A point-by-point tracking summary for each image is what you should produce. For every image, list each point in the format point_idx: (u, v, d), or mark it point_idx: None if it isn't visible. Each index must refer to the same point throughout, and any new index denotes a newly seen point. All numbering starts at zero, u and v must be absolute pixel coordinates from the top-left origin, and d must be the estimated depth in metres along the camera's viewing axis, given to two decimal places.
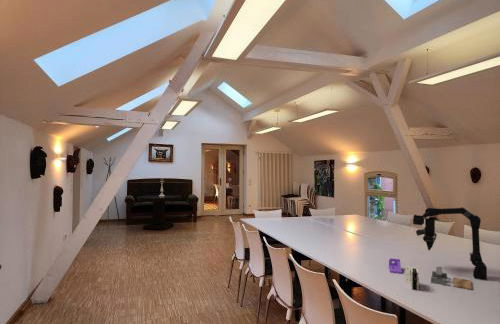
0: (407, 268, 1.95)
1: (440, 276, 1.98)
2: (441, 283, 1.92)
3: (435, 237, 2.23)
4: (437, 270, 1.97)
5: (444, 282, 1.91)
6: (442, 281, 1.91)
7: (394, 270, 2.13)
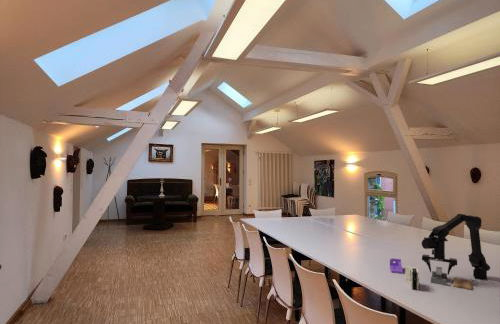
0: (407, 268, 1.95)
1: (440, 276, 1.98)
2: (441, 283, 1.92)
3: None
4: (437, 270, 1.97)
5: (444, 282, 1.91)
6: (442, 281, 1.91)
7: (395, 270, 2.13)
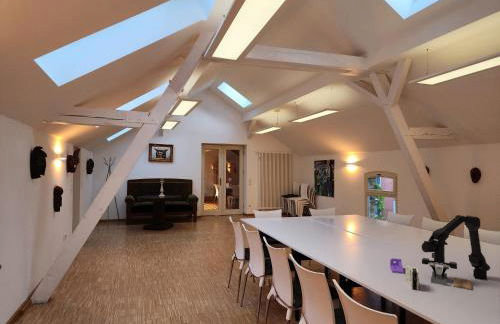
0: (407, 268, 1.95)
1: (440, 276, 1.98)
2: (441, 283, 1.92)
3: (446, 268, 1.95)
4: (437, 270, 1.97)
5: (444, 282, 1.91)
6: (442, 281, 1.91)
7: (396, 270, 2.13)
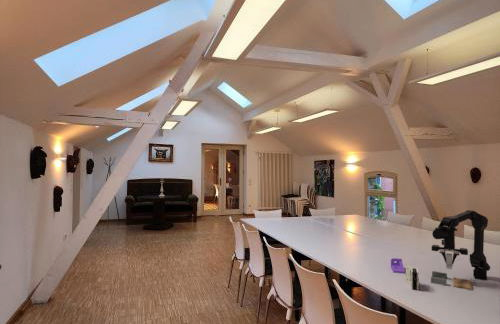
0: (407, 268, 1.95)
1: (450, 262, 1.95)
2: (441, 283, 1.92)
3: (457, 254, 1.92)
4: (447, 256, 1.94)
5: (444, 282, 1.91)
6: (442, 281, 1.91)
7: (397, 270, 2.13)
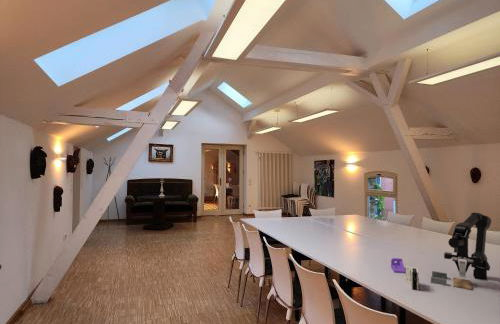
0: (407, 268, 1.95)
1: (464, 271, 1.91)
2: (441, 283, 1.92)
3: (470, 262, 1.89)
4: (461, 265, 1.91)
5: (444, 282, 1.91)
6: (442, 281, 1.91)
7: (398, 270, 2.13)
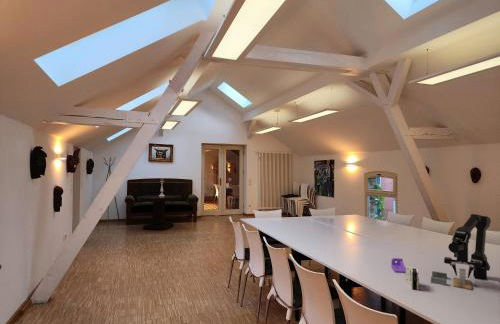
0: (407, 268, 1.95)
1: (464, 278, 1.91)
2: (441, 283, 1.92)
3: (473, 267, 1.88)
4: (461, 272, 1.91)
5: (444, 282, 1.91)
6: (442, 281, 1.91)
7: (398, 270, 2.13)
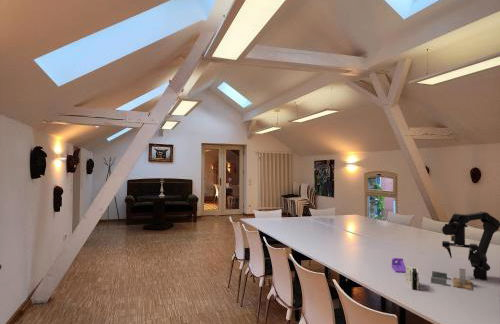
0: (407, 268, 1.95)
1: (464, 278, 1.91)
2: (441, 283, 1.92)
3: (473, 250, 1.95)
4: (461, 272, 1.91)
5: (444, 282, 1.91)
6: (442, 281, 1.91)
7: (399, 270, 2.14)
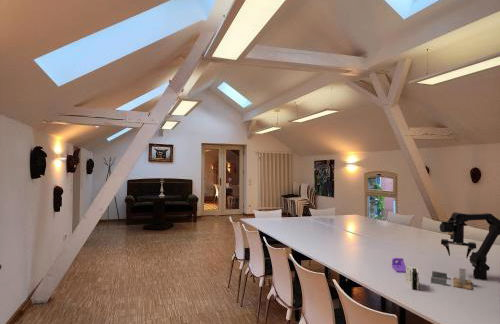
0: (407, 268, 1.95)
1: (464, 278, 1.91)
2: (441, 283, 1.92)
3: (471, 248, 1.99)
4: (461, 272, 1.91)
5: (444, 282, 1.91)
6: (442, 281, 1.91)
7: (400, 270, 2.14)
